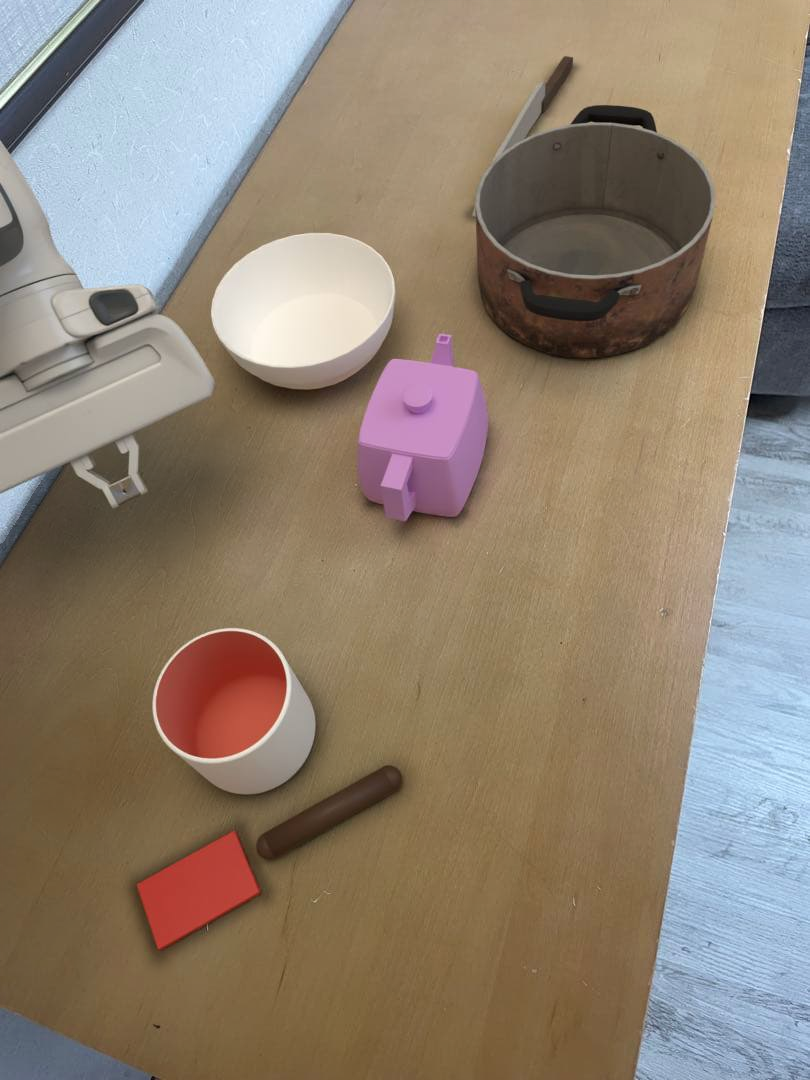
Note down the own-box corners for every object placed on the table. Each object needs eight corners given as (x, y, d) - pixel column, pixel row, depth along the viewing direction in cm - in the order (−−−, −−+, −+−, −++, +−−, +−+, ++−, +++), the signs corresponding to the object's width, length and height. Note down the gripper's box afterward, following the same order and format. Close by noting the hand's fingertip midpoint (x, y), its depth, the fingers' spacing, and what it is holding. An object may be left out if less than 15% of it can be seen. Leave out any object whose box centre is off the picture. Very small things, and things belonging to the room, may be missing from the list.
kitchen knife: (566, 38, 106) (468, 182, 93) (574, 40, 106) (477, 184, 93) (563, 72, 110) (469, 215, 97) (572, 73, 109) (478, 217, 96)
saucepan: (512, 179, 99) (512, 92, 90) (710, 198, 94) (731, 107, 85) (445, 372, 85) (438, 291, 76) (673, 407, 80) (694, 325, 71)
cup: (178, 715, 70) (131, 670, 61) (286, 655, 71) (255, 603, 63) (225, 823, 65) (182, 791, 56) (340, 756, 66) (315, 714, 58)
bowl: (199, 388, 88) (175, 339, 81) (283, 270, 95) (267, 216, 89) (355, 438, 82) (342, 389, 76) (431, 308, 90) (425, 254, 84)
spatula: (160, 950, 61) (150, 948, 59) (139, 885, 63) (128, 881, 61) (417, 804, 64) (414, 798, 62) (387, 747, 66) (383, 740, 65)
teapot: (402, 380, 85) (390, 305, 76) (505, 396, 83) (504, 320, 74) (346, 529, 77) (324, 464, 68) (457, 552, 75) (450, 488, 66)
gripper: (-107, 394, 59) (-3, 566, 63) (164, 277, 62) (248, 447, 66) (-81, 394, 65) (13, 551, 69) (165, 287, 68) (243, 443, 72)
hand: (130, 499), depth 67 cm, fingers closed
